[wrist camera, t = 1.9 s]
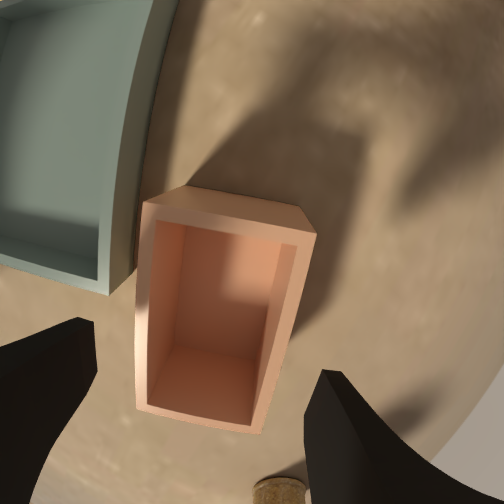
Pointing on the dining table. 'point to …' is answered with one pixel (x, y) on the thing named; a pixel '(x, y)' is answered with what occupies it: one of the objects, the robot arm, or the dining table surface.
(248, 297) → the small crate
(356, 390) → the robot arm
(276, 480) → the sprinkles bottle
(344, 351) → the dining table surface
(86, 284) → the base crate
